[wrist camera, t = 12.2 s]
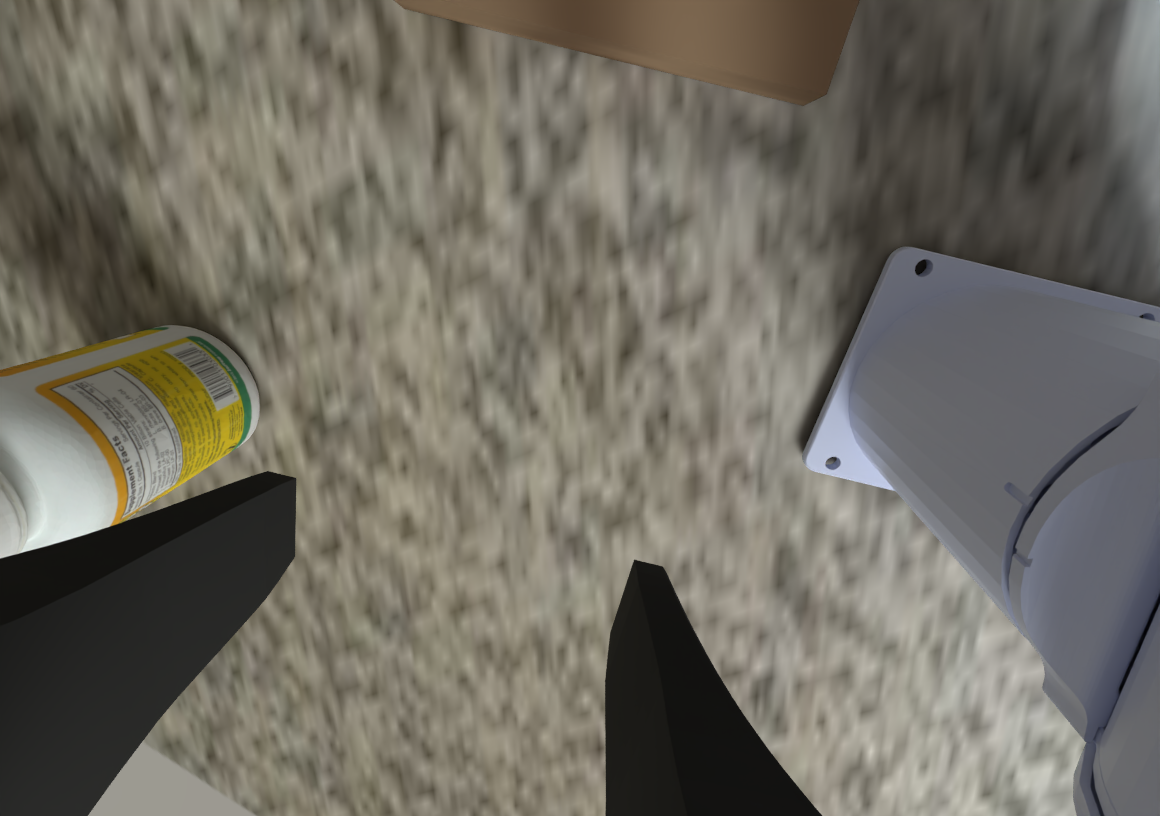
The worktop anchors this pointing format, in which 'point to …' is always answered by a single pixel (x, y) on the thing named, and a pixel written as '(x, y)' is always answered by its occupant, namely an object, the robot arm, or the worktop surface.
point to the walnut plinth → (683, 36)
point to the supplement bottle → (114, 430)
